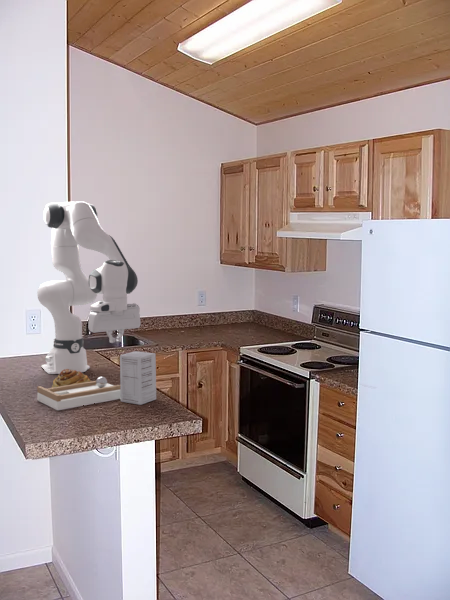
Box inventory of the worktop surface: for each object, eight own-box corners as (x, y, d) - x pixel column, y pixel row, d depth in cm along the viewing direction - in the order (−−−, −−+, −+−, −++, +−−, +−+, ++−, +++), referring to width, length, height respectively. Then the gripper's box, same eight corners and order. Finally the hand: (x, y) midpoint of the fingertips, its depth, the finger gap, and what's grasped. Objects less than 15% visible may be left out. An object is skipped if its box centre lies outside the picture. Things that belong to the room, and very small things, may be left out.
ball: (93, 387, 231) (93, 376, 231) (103, 385, 234) (103, 374, 233) (99, 389, 228) (99, 378, 228) (109, 387, 231) (108, 376, 230)
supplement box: (157, 399, 227) (157, 353, 225) (141, 405, 219) (140, 357, 217) (136, 395, 232) (135, 350, 230) (119, 401, 224) (119, 354, 222)
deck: (37, 400, 224) (37, 386, 223) (102, 389, 241) (102, 376, 240) (57, 410, 212) (57, 395, 211) (124, 397, 228) (124, 384, 228)
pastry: (46, 388, 241) (45, 368, 240) (79, 382, 252) (79, 362, 251) (64, 395, 232) (64, 373, 231) (99, 388, 243) (98, 367, 242)
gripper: (134, 302, 241) (135, 338, 242) (86, 305, 228) (86, 343, 229) (143, 303, 236) (144, 340, 237) (94, 307, 223) (95, 346, 224)
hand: (115, 342), depth 233 cm, fingers closed
